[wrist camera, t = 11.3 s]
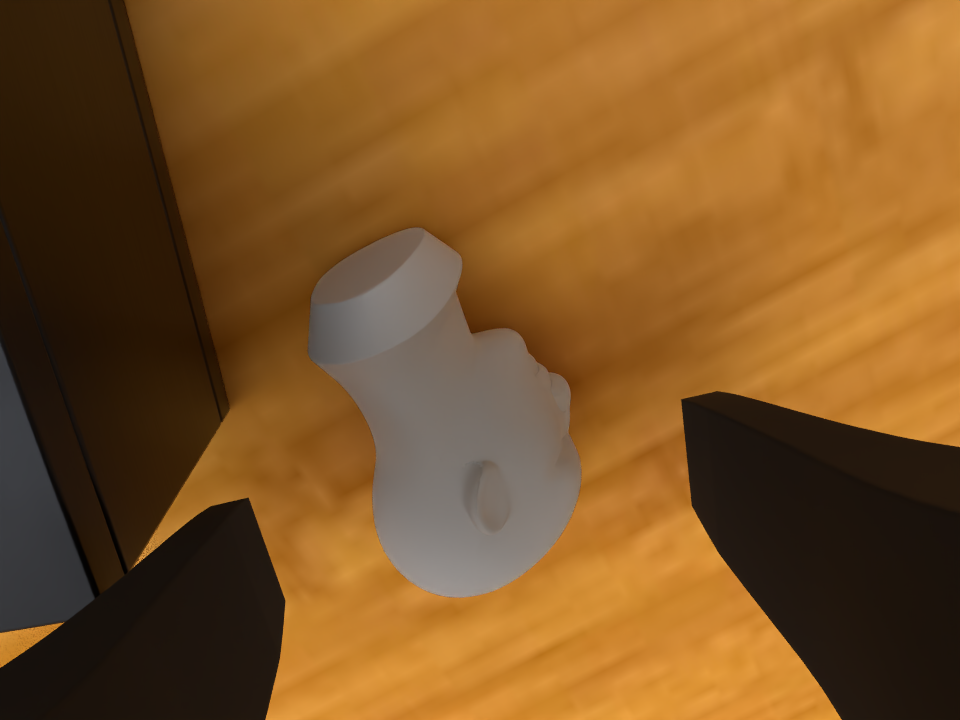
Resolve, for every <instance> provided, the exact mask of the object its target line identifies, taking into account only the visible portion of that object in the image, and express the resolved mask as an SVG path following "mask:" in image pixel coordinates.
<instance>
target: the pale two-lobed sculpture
mask: <svg viewBox="0 0 960 720" xmlns="http://www.w3.org/2000/svg"><path fill="white" fill-rule="evenodd" d="M461 272H462V258H461V256H460V255H459V253H458V252H456V251H455V250H453V249H452V248H450V247H449V246H448V245H446V244H445V243H443V242H442V241H440V240H439V239H437V238H436V237H435V236H433V235H432V234H430V233H429V232H427V231H426V230H424V229H423V228H418V227H416V228H409V229H405V230H402V231H399V232H396V233H393V234H391V235H389V236H386V237H384V238H382V239H380V240H378V241H376V242H374V243H372V244H370V245H368V246H366V247H364V248H362V249H360V250H358V251H357V252H355V253H353V254H352V255H350V256H348V257H347V258H345V259H344V260H342V261H341V262H339V263H338V264H336V265H335V266H334V267H332V268H331V269H330V270H329V271H328V272H326V273H325V274H324V275H323V276H322V277H321V279H320V280H319V281H318V283H317V284H316V286H315V288H314V290H313V293H312V296H311V304H310V320H309V337H308V355H309V358H310V359H311V360H312V361H313V362H314V363H315V364H316V365H318V366H319V367H320V368H321V369H323V370H324V371H325V372H326V373H328V374H329V375H330V376H331V377H333V378H334V379H335V380H336V381H337V382H338V383H339V384H340V385H341V386H342V387H343V388H344V389H345V390H346V391H347V392H348V393H349V395H350V396H351V397H352V398H353V400H354V401H355V403H356V404H357V406H358V407H359V409H360V410H361V412H362V414H363V416H364V417H365V419H366V421H367V423H368V426H369V428H370V430H371V433H372V436H373V439H374V443H375V448H376V464H375V472H374V480H373V494H372V502H373V515H374V522H375V527H376V531H377V535H378V537H379V540H380V543H381V545H382V547H383V549H384V551H385V553H386V555H387V556H388V558H389V560H390V561H391V562H392V564H393V565H394V566H395V568H396V569H397V570H398V571H399V572H400V573H401V574H402V575H403V576H404V577H405V578H407V579H408V580H409V581H410V582H412V583H413V584H415V585H416V586H418V587H419V588H421V589H423V590H425V591H428V592H430V593H433V594H436V595H440V596H446V597H471V596H476V595H481V594H485V593H488V592H492V591H494V590H497V589H499V588H501V587H503V586H505V585H507V584H509V583H510V582H512V581H514V580H515V579H517V578H518V577H520V576H521V575H523V574H524V573H525V572H527V571H528V570H529V569H530V568H532V567H533V566H534V565H535V564H536V563H537V562H538V561H539V560H540V559H541V558H542V557H543V556H544V555H545V554H546V553H547V552H548V551H549V550H550V548H551V547H552V546H553V545H554V544H555V542H556V541H557V540H558V538H559V537H560V535H561V534H562V532H563V531H564V529H565V527H566V525H567V524H568V522H569V520H570V518H571V516H572V513H573V511H574V508H575V505H576V502H577V499H578V495H579V491H580V486H581V462H580V458H579V454H578V452H577V449H576V447H575V445H574V443H573V441H572V439H571V437H570V435H569V433H568V430H569V424H570V401H571V393H570V388H569V385H568V383H567V381H566V380H565V379H564V378H563V377H562V376H560V375H559V374H556V373H552V372H548V370H547V369H546V368H545V367H544V366H543V365H541V364H540V363H538V362H536V360H535V358H534V357H533V356H532V355H530V354H529V353H528V351H527V348H526V344H525V342H524V340H523V338H522V337H521V336H520V334H519V333H517V332H516V331H514V330H512V329H508V328H498V329H491V330H486V331H482V332H478V333H473V334H471V332H470V330H469V327H468V325H467V322H466V319H465V316H464V313H463V311H462V308H461V305H460V302H459V299H458V296H457V293H456V289H457V286H458V283H459V279H460V276H461Z"/></svg>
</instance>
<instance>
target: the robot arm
mask: <svg viewBox="0 0 960 720" xmlns="http://www.w3.org/2000/svg"><path fill="white" fill-rule="evenodd" d="M681 402H682V412H683V422H684V432H685V442H686V452H687V462H688V472H689V482H690V491H691V501H692V507H693V509H694V510H695V512H696V514H697V516H698V518H699V519H700V521H701V523H702V525H703V527H704V529H705V530H706V532H707V534H708V536H709V537H710V539H711V541H712V542H713V544H714V546H715V547H716V549H717V551H718V552H719V554H720V555H721V557H722V558H723V559H724V561H725V562H726V563H727V565H728V566H729V567H730V569H731V570H732V571H733V573H734V574H735V575H736V576H737V578H738V579H739V580H740V582H741V583H742V584H743V586H744V587H745V588H746V589H747V591H748V592H749V593H750V595H751V596H752V597H753V598H754V600H755V601H756V602H757V604H758V605H759V606H760V607H761V609H762V610H763V611H764V612H765V614H766V615H767V616H768V618H769V619H770V620H771V621H772V623H773V624H774V625H775V627H776V628H777V629H778V630H779V632H780V633H781V634H782V635H783V637H784V638H785V639H786V641H787V642H788V643H789V644H790V646H791V647H792V648H793V650H794V651H795V652H796V653H797V655H798V656H799V657H800V658H801V660H802V661H803V662H804V664H805V665H806V667H807V668H808V669H809V671H810V672H811V674H812V675H813V676H814V678H815V679H816V680H817V682H818V683H819V685H820V686H821V687H822V689H823V690H824V692H825V694H826V695H827V697H828V698H829V700H830V702H831V703H832V705H833V706H834V708H835V709H836V711H837V713H838V714H839V716H840V717H841V719H842V720H960V447H955V446H949V445H943V444H936V443H930V442H924V441H919V440H914V439H908V438H903V437H898V436H894V435H889V434H885V433H880V432H876V431H872V430H867V429H863V428H858V427H854V426H850V425H846V424H842V423H839V422H835V421H831V420H827V419H823V418H820V417H816V416H812V415H809V414H805V413H802V412H798V411H794V410H791V409H787V408H784V407H780V406H777V405H773V404H770V403H766V402H763V401H759V400H755V399H752V398H748V397H744V396H740V395H736V394H731V393H726V392H719V391H716V392H712V393H707V394H703V395H699V396H694V397H690V398H685V399H681ZM284 611H285V598H284V596H283V593H282V590H281V587H280V584H279V582H278V579H277V576H276V573H275V570H274V568H273V565H272V562H271V559H270V556H269V554H268V551H267V548H266V545H265V543H264V540H263V537H262V534H261V531H260V529H259V526H258V523H257V520H256V517H255V515H254V512H253V509H252V506H251V503H250V501H249V498H245V499H241V500H236V501H232V502H227V503H223V504H219V505H214V506H211V507H209V508H207V509H206V510H204V511H203V512H201V513H200V514H198V515H197V516H196V517H194V518H193V519H192V520H190V521H189V522H188V523H187V524H185V525H184V526H183V527H181V528H180V529H179V530H178V531H177V532H175V533H174V534H173V535H172V536H171V537H169V538H168V539H167V540H166V541H165V542H163V543H162V544H161V545H160V546H159V547H157V548H156V549H155V550H154V551H153V552H152V553H150V554H149V555H148V556H147V557H146V558H144V559H143V560H142V561H141V562H140V563H138V564H137V565H136V566H135V567H134V568H132V569H131V570H130V571H129V572H128V573H127V574H125V575H124V576H123V577H122V578H121V579H119V580H118V581H117V582H116V583H114V584H113V585H112V586H111V587H109V588H108V589H107V590H105V591H104V592H103V593H102V594H100V595H99V596H98V597H97V598H95V599H94V600H93V601H91V602H90V603H89V604H88V605H86V606H85V607H84V608H83V609H81V610H80V611H79V612H77V613H76V614H75V615H74V616H72V617H71V618H70V619H69V620H67V621H66V622H65V623H63V624H62V625H61V626H60V627H58V628H57V629H56V630H54V631H53V632H51V633H50V634H49V635H47V636H46V637H45V638H43V639H42V640H40V641H39V642H38V643H36V644H35V645H33V646H32V647H31V648H29V649H28V650H26V651H25V652H24V653H22V654H21V655H19V656H18V657H16V658H15V659H13V660H12V661H10V662H9V663H7V664H6V665H4V666H3V667H1V668H0V720H265V719H266V715H267V711H268V707H269V702H270V698H271V694H272V690H273V686H274V681H275V677H276V673H277V668H278V664H279V660H280V652H281V644H282V635H283V624H284Z"/></svg>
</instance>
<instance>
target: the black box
mask: <svg viewBox="0 0 960 720" xmlns="http://www.w3.org/2000/svg"><path fill="white" fill-rule="evenodd" d="M229 409H230V407H229V403H228V399H227V396H226V392H225V388H224V384H223V380H222V376H221V373H220V369H219V365H218V361H217V357H216V353H215V350H214V346H213V342H212V338H211V334H210V331H209V327H208V323H207V319H206V315H205V311H204V308H203V304H202V300H201V296H200V292H199V288H198V285H197V281H196V277H195V273H194V269H193V266H192V262H191V258H190V254H189V250H188V246H187V243H186V239H185V235H184V231H183V227H182V223H181V220H180V216H179V212H178V208H177V204H176V200H175V197H174V193H173V189H172V185H171V181H170V178H169V174H168V170H167V166H166V162H165V158H164V155H163V151H162V147H161V143H160V139H159V135H158V132H157V128H156V124H155V120H154V116H153V113H152V109H151V105H150V101H149V97H148V93H147V90H146V86H145V82H144V78H143V74H142V70H141V67H140V63H139V59H138V55H137V51H136V47H135V44H134V40H133V36H132V32H131V28H130V25H129V21H128V17H127V13H126V9H125V5H124V2H123V0H0V633H3V632H9V631H15V630H21V629H27V628H33V627H39V626H45V625H51V624H57V623H63V622H66V621H67V620H69V619H70V618H71V617H72V616H74V615H75V614H76V613H77V612H79V611H80V610H81V609H83V608H84V607H85V606H86V605H88V604H89V603H90V602H91V601H93V600H94V599H95V598H97V597H98V596H99V595H100V594H102V593H103V592H104V591H105V590H107V589H108V588H109V587H111V586H112V585H113V584H114V583H116V582H117V581H118V580H119V579H121V578H122V577H123V576H124V575H125V574H127V573H128V572H129V571H130V570H131V569H132V568H133V567H134V565H135V563H136V562H137V560H138V559H139V557H140V555H141V554H142V552H143V550H144V549H145V547H146V545H147V544H148V542H149V541H150V539H151V537H152V536H153V534H154V532H155V531H156V529H157V528H158V526H159V524H160V523H161V521H162V519H163V518H164V516H165V515H166V513H167V511H168V510H169V508H170V506H171V505H172V503H173V501H174V500H175V498H176V497H177V495H178V493H179V492H180V490H181V488H182V487H183V485H184V484H185V482H186V480H187V479H188V477H189V475H190V474H191V472H192V471H193V469H194V467H195V466H196V464H197V462H198V461H199V459H200V457H201V456H202V454H203V453H204V451H205V449H206V448H207V446H208V444H209V443H210V441H211V440H212V438H213V436H214V435H215V433H216V431H217V430H218V428H219V427H220V425H221V422H223V420H224V418H225V417H226V415H227V414H228V412H229Z"/></svg>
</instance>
